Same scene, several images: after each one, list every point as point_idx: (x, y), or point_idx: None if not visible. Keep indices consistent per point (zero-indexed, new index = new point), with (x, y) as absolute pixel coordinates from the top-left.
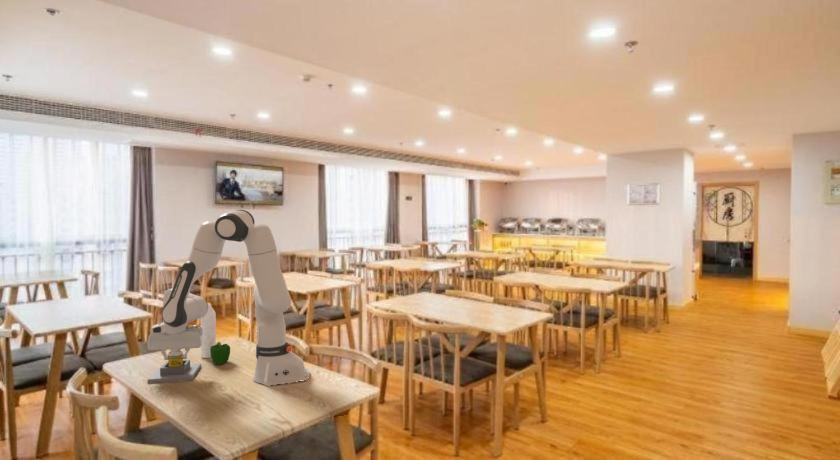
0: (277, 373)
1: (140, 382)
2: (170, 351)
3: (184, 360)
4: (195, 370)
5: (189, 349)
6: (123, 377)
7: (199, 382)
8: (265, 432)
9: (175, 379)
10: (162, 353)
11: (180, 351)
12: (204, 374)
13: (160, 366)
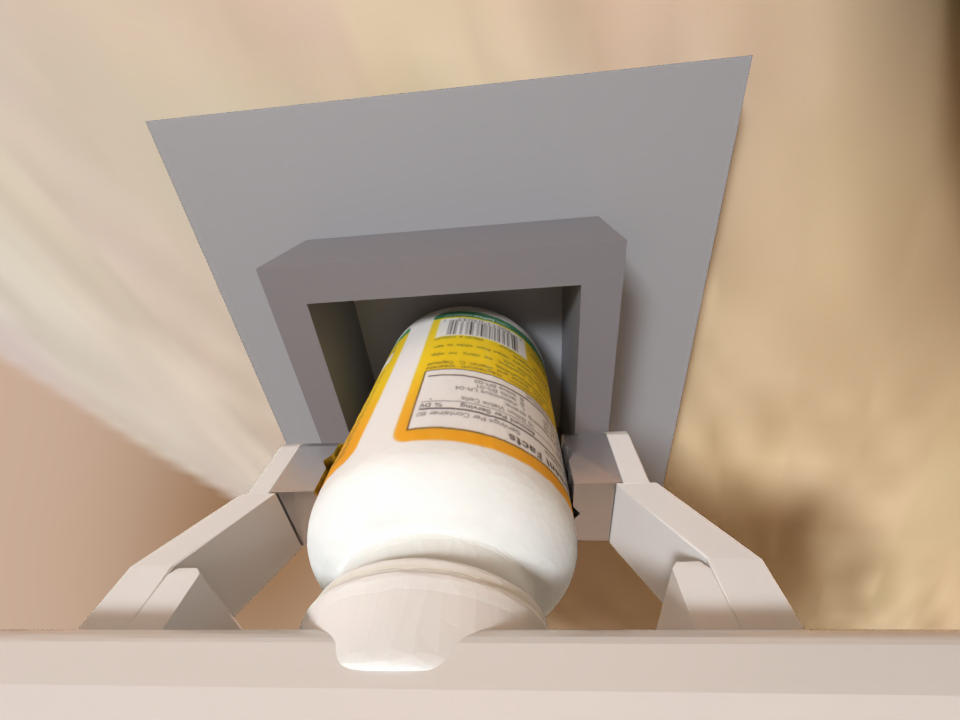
0: None
1: (263, 468)
2: (321, 574)
3: (537, 270)
4: (683, 358)
5: (757, 589)
6: (18, 361)
7: (714, 508)
8: None
9: None
10: (224, 602)
11: (548, 604)
12: (760, 356)
13: (176, 169)
